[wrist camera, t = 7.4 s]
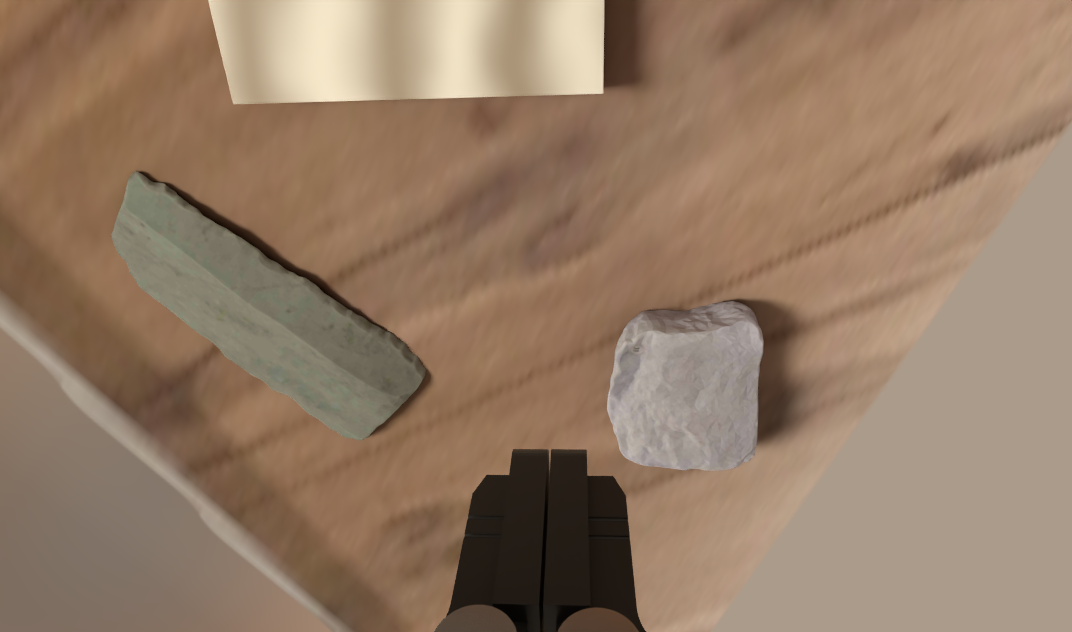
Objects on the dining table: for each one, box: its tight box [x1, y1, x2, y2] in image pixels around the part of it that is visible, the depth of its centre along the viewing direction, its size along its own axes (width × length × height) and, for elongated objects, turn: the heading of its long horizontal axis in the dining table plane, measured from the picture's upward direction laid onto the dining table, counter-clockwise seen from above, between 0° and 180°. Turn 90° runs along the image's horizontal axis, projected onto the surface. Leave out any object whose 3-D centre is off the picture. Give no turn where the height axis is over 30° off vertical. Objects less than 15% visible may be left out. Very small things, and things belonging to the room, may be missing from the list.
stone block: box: [607, 301, 764, 471], centre depth 42 cm, size 12×5×10 cm
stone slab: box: [111, 172, 426, 440], centre depth 43 cm, size 22×3×10 cm
